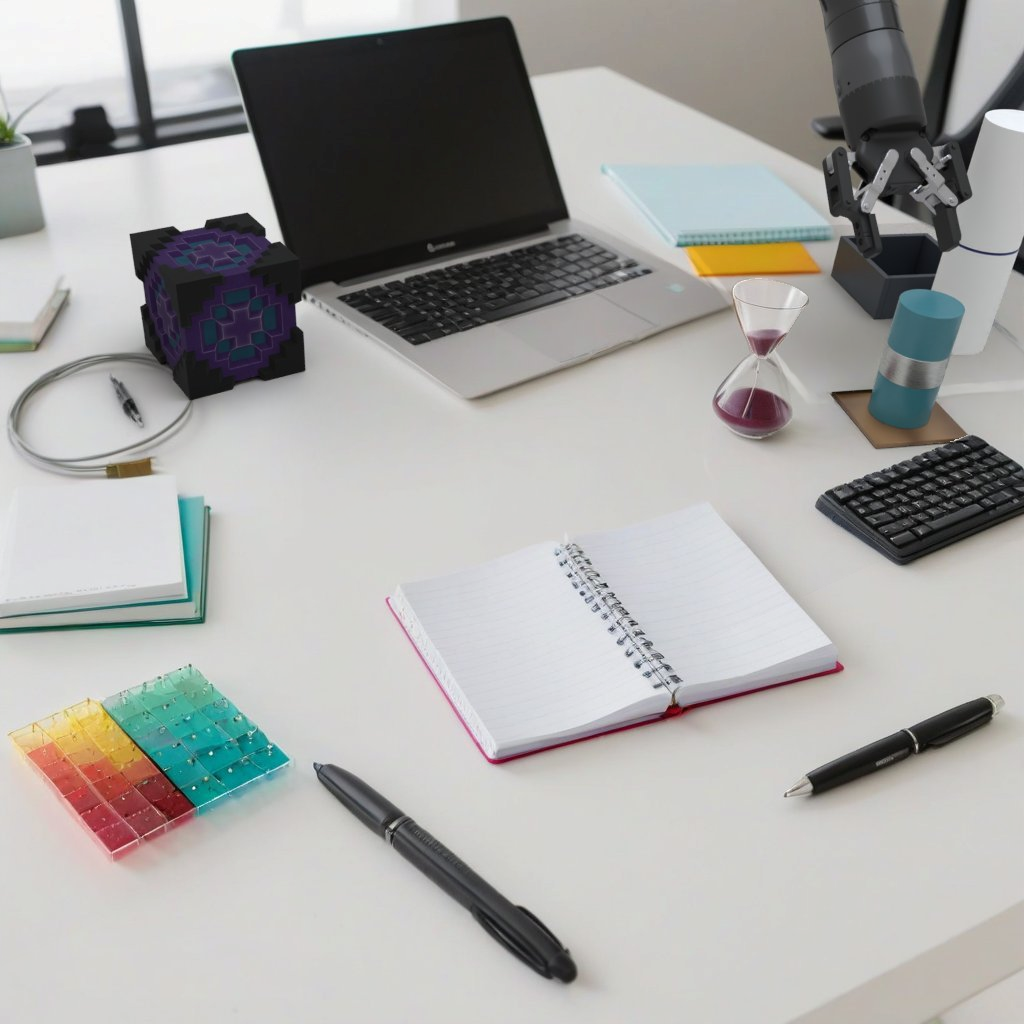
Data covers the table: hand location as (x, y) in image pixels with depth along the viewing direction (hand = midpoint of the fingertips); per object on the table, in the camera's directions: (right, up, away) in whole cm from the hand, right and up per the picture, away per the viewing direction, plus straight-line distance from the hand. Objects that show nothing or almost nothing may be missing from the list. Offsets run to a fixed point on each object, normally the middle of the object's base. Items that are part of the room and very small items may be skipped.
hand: (912, 252), depth 110 cm
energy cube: (-67, -9, +7) cm, 68 cm away
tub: (+7, 0, +26) cm, 27 cm away
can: (0, -15, +5) cm, 16 cm away
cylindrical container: (+10, -7, +18) cm, 22 cm away
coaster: (0, -15, +5) cm, 16 cm away
